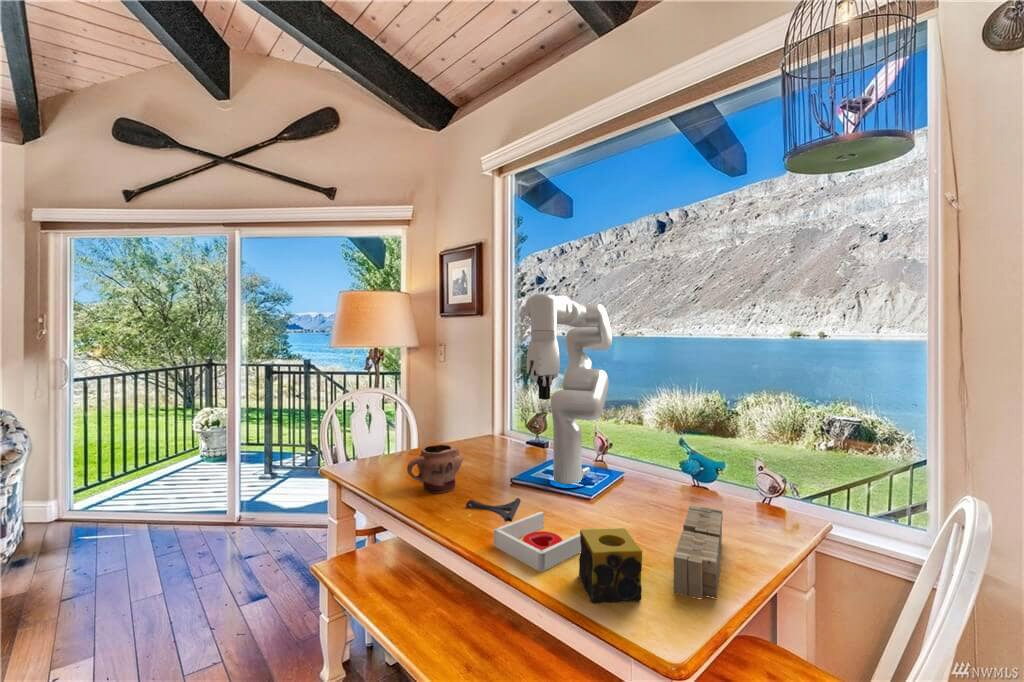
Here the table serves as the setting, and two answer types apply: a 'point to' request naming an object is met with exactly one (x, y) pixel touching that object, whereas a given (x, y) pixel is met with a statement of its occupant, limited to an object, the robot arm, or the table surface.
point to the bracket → (497, 508)
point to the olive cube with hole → (610, 565)
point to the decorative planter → (437, 467)
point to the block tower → (699, 553)
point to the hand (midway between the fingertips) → (544, 398)
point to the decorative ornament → (542, 539)
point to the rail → (528, 554)
